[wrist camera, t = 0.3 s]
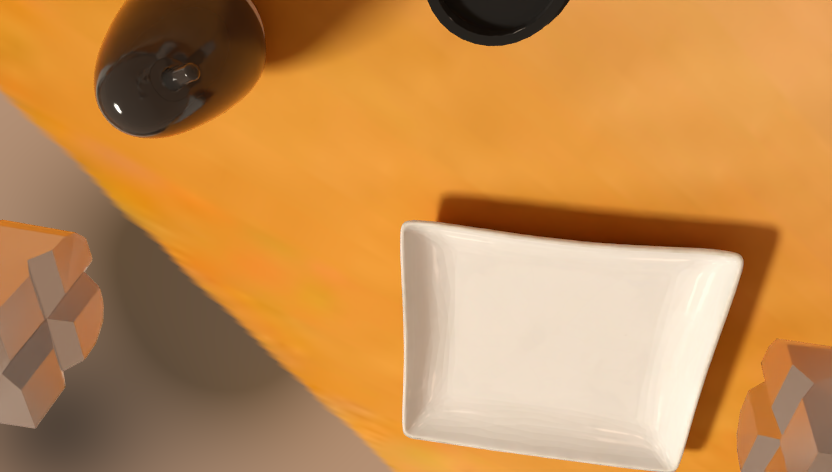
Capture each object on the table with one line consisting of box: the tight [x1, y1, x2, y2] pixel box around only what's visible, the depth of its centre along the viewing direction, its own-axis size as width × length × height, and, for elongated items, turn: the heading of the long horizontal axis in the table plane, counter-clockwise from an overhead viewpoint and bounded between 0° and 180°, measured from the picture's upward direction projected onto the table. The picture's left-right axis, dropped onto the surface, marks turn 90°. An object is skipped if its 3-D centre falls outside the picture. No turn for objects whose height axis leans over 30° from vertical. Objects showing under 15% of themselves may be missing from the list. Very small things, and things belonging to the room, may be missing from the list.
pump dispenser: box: [94, 0, 266, 138], centre depth 53 cm, size 10×10×15 cm
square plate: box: [400, 220, 744, 472], centre depth 71 cm, size 27×27×4 cm
